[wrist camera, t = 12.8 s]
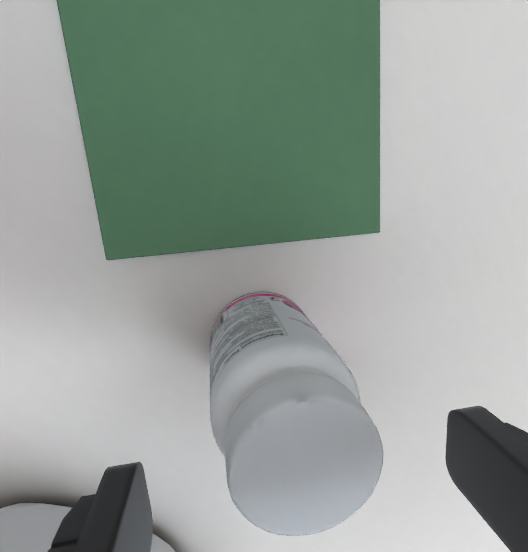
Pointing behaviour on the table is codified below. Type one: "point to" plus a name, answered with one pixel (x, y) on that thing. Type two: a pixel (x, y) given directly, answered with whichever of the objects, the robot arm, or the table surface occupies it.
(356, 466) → the pill bottle
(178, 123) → the cloth
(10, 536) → the soap bottle
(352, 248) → the table surface
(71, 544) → the robot arm
